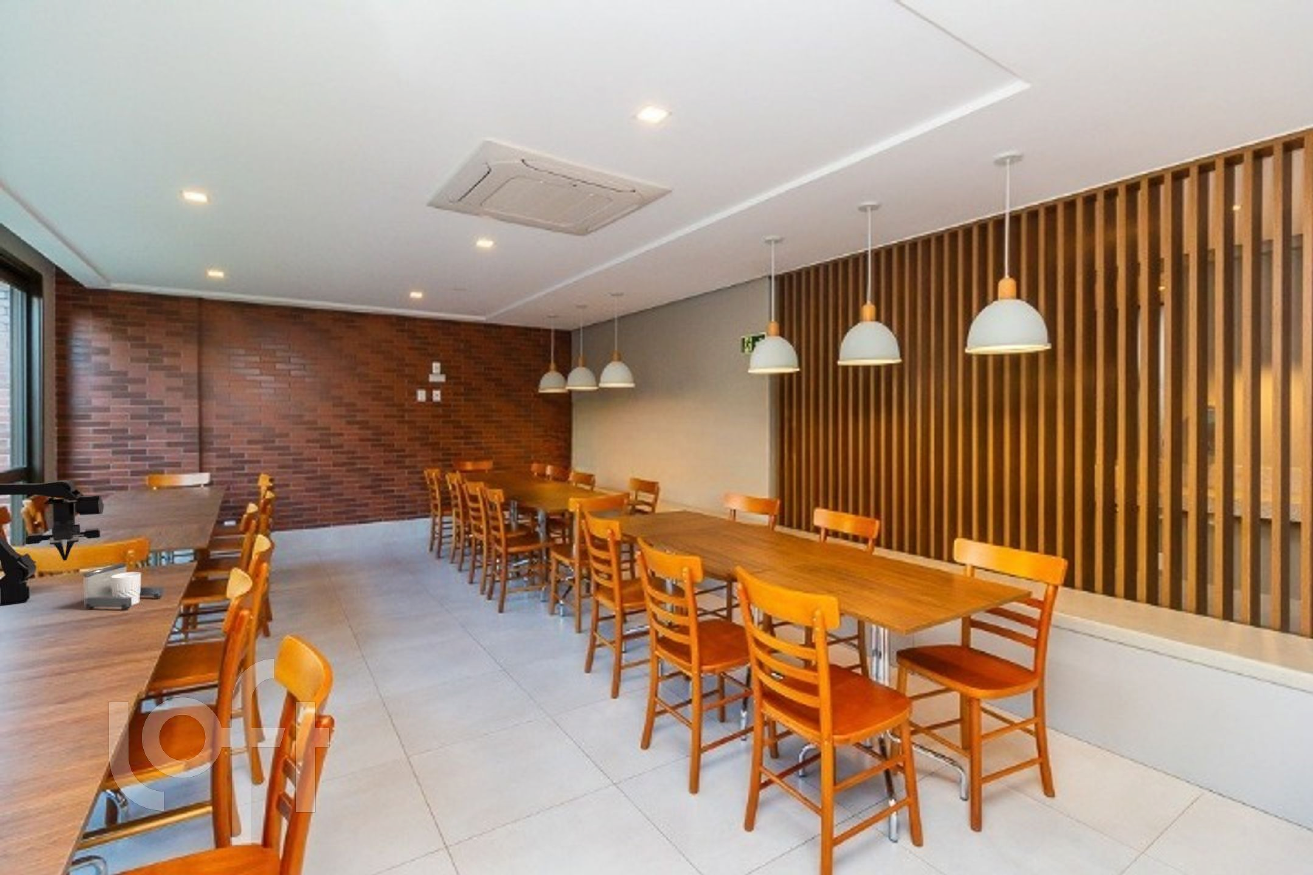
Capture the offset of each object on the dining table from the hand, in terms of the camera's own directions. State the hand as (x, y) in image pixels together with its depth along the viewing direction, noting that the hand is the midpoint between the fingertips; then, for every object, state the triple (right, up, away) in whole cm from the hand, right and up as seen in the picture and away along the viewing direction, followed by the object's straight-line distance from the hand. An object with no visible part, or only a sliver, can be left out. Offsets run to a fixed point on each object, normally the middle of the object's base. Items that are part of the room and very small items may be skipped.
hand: (65, 560), depth 218 cm
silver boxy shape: (+27, -13, -7) cm, 31 cm away
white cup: (+28, -14, -7) cm, 32 cm away
